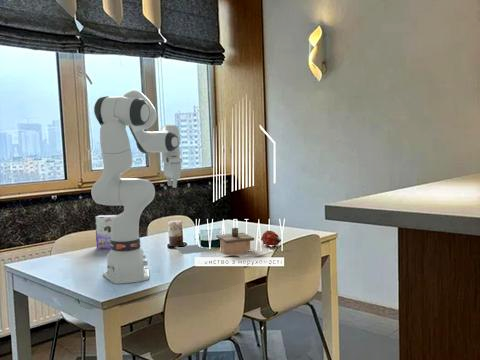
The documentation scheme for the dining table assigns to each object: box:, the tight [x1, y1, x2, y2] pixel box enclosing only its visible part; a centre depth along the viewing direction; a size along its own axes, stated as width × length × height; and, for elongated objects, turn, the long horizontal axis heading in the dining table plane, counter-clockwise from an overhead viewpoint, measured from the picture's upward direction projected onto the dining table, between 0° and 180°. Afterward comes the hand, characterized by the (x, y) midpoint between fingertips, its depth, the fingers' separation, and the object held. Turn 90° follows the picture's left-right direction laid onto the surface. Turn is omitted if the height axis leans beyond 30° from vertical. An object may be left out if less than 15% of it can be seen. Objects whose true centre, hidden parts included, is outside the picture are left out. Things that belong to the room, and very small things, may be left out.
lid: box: [216, 227, 255, 243], centre depth 235 cm, size 14×14×5 cm
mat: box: [174, 244, 215, 255], centre depth 241 cm, size 16×16×1 cm
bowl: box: [219, 239, 251, 255], centre depth 236 cm, size 14×14×6 cm
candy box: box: [94, 214, 118, 250], centre depth 247 cm, size 14×6×16 cm, turn 84°
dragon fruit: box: [260, 230, 282, 246], centre depth 245 cm, size 8×8×12 cm
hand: (172, 186), depth 239 cm, fingers open, 8 cm apart
